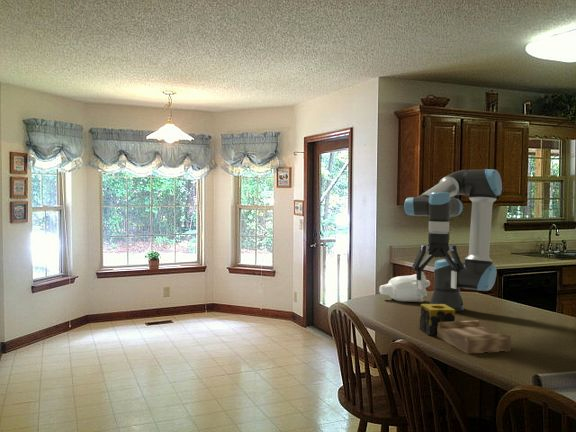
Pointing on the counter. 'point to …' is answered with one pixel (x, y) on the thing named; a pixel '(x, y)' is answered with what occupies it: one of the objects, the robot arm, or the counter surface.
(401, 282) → the mask
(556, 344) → the counter surface
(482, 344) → the display stand
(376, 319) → the counter surface
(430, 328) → the candle
